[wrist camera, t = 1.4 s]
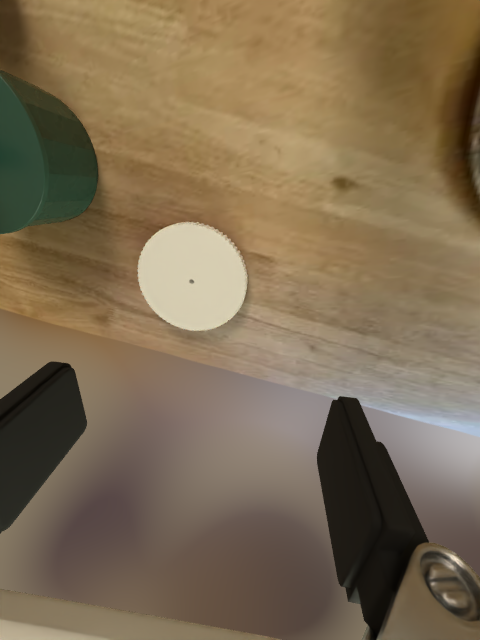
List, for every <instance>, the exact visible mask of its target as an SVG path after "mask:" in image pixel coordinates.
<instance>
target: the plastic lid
mask: <svg viewBox="0 0 480 640" xmlns="http://www.w3.org/2000/svg"><path fill="white" fill-rule="evenodd" d="M234 244H235V243H234V242H231V239H230V238H229V239H228V238H227V235H223V232H219V230H218V229H216V230H215V229H214V227H209V225H204V223H201V224H199V222H196V223H194V222H190V223H189V222H185V223H184V222H181V223H176V224H173V225H170V226H168V227H165V228H163V229H161V230H159V232H156V233H155V235H153V236H152V237H151V239H149V240H148V242H147V243H146V244H145V245H146V246H145V247H143V251H141V254H142V255H140V256H139V258H140V260H138V262H139V265H138V268H139V269H138V270H137V272H138V273H139V274H137V276H138V277H139V279H138V281H139V282H140V284H139V286H141V288H140V290H141V291H142V292H143V293H142V295H144V296H145V297H144V299H146V300H147V301H146V302H147V303H149V306H150V307H152V310H153V311H155V313H156V314H158V315H159V317H162V318H163V320H166V322H167V323H168V322H169V323H170V324H171V325H175V327H177V326H178V327H179V328H183V329H184V330H185V329H187V330H189V331H190V330H192V331H194V330H196V331H199V330H201V331H203V330H205V331H207V330H208V329H210V330H211V329H212V328H214V329H215V328H216V327H217V326H218V327H220V325H224V323H227V322H228V320H231V317H234V314H236V313H237V311H239V309H240V307H241V306H242V303H243V301H244V298H245V295H246V291H247V285H248V284H247V282H248V279H247V277H248V274H247V269H246V265H245V264H244V262H245V261H244V260H243V259H242V258H243V256H242V255H240V253H241V252H240V251H238V250H237V249H238V247H237V246H236V247H235V245H234Z"/></svg>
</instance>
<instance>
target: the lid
mask: <svg viewBox="0 0 480 640" xmlns="http://www.w3.org/2000/svg"><path fill="white" fill-rule="evenodd" d="M48 187H49V166H48V159H47V154H46V150H45V146H44V142H43V139H42V137H41V134H40V131H39V128H38V126H37V124H36V122H35V120H34V118H33V116H32V114H31V112H30V110H29V109H28V107H27V105H26V103H25V102H24V101H23V99H22V98H21V96H20V95H19V93H18V92H17V91H16V89H15V88H14V87H13V86H12V85H11V83H10V82H9V81H8V80H7V79H6V78H5V77H4V76H3V75H2V74H1V73H0V234H5V233H12V232H15V231H19V230H21V229H23V228H25V227H27V226H28V225H29V224H31V223H32V222H33V221H34V220H35V219H36V218H37V216H38V215H39V213H40V212H41V210H42V208H43V206H44V204H45V201H46V197H47V193H48Z"/></svg>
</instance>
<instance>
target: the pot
mask: <svg viewBox="0 0 480 640" xmlns="http://www.w3.org/2000/svg"><path fill="white" fill-rule="evenodd" d="M0 73H1V74H2V75H3V76H4V77H5V78H6V79H7V80H8V81H9V82H10V83H11V85H12V86H13V87H14V88H15V89H16V91H17V92H18V93H19V95H20V96H21V98H22V99H23V101H24V102H25V103H26V105H27V107H28V109H29V110H30V112H31V114H32V116H33V118H34V120H35V122H36V124H37V126H38V128H39V131H40V134H41V137H42V139H43V142H44V146H45V150H46V154H47V159H48V166H49V187H48V193H47V197H46V201H45V204H44V206H43V208H42V210H41V212H40V213H39V215H38V216H37V218H36V219H35V220H34V221H33V222H32V223H31V224H29V225H28V226H34V225H42V224H49V223H56V222H63V221H65V220H68V219H72V218H74V217H76V216H78V215H80V214H81V213H82V212H84V211H85V210H86V208H87V207H88V206H89V205H90V203H91V201H92V199H93V197H94V195H95V191H96V188H97V182H98V168H97V161H96V155H95V152H94V149H93V146H92V143H91V141H90V138H89V136H88V134H87V132H86V130H85V129H84V127H83V125H82V124H81V122H80V121H79V119H78V118H77V117H76V116H75V114H74V113H73V112H72V111H71V110H70V109H69V108H68V107H67V106H66V105H65V104H64V103H63V102H61V100H59V99H58V98H56V97H54V96H53V95H51V94H49V93H47V92H45V91H44V90H42V89H40V88H38V87H37V86H35V85H32V84H30V83H28V82H26V81H24V80H22V79H19V78H17V77H15V76H13V75H11V74H9V73H6V72H4V71H2V70H0Z"/></svg>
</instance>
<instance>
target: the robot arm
mask: <svg viewBox="0 0 480 640" xmlns="http://www.w3.org/2000/svg"><path fill="white" fill-rule="evenodd" d="M86 426H87V420H86V416H85V411H84V407H83V403H82V399H81V395H80V391H79V387H78V382H77V378H76V374H75V371H74V369H73V368H71V366H70V364H68V363H61V362H49V363H47V364H46V365H45V366H44V367H42V368H41V369H39V370H38V371H37V372H36V373H35V374H33V375H32V376H30V377H29V378H28V379H26V380H25V381H24V382H23V383H21V384H20V385H19V386H17V387H16V388H15V389H13V390H12V391H11V392H10V393H8V394H7V395H6V396H4V397H3V398H2V399H0V533H1V532H2V531H4V530H6V529H8V528H9V527H10V526H11V524H12V523H13V522H14V520H16V518H17V517H18V516H19V514H20V513H21V512H22V510H23V509H24V508H25V507H26V505H27V504H28V503H29V502H30V500H31V499H32V498H33V496H34V495H35V494H36V493H37V491H38V490H39V489H40V488H41V486H42V485H43V484H44V482H45V481H46V480H47V479H48V477H49V476H50V475H51V473H52V472H53V471H54V470H55V468H56V467H57V466H58V464H59V463H60V462H61V461H62V459H63V458H64V457H65V455H66V454H67V453H68V452H69V450H70V449H71V448H72V446H73V445H74V444H75V442H76V441H77V440H78V439H79V437H80V436H81V435H82V434H83V432H84V431H85V429H86ZM317 464H318V470H319V476H320V482H321V487H322V493H323V498H324V504H325V510H326V515H327V521H328V527H329V532H330V538H331V544H332V549H333V555H334V560H335V566H336V572H337V577H338V581H339V584H340V586H342V587H345V588H346V592H347V598H348V602H352V603H358V604H361V608H362V613H363V617H364V621H365V622H366V623H367V624H368V626H367V628H366V630H365V633H364V635H363V638H362V640H480V577H479V576H478V575H477V574H476V573H475V572H474V571H473V569H472V568H471V567H470V566H469V565H468V564H467V563H466V562H465V561H464V560H463V559H462V558H461V557H459V556H458V555H457V554H456V553H454V552H452V551H451V550H449V549H447V548H446V547H444V546H441V545H438V544H435V543H429V541H428V539H427V537H426V534H425V532H424V530H423V528H422V526H421V523H420V522H419V519H418V517H417V515H416V513H415V510H414V508H413V506H412V504H411V502H410V499H409V497H408V495H407V493H406V491H405V489H404V486H403V484H402V482H401V480H400V478H399V475H398V473H397V471H396V469H395V467H394V465H393V462H392V460H391V458H390V456H389V454H388V452H387V449H386V448H385V446H384V445H383V444H382V443H381V442H376V440H375V437H374V435H373V433H372V430H371V428H370V426H369V424H368V421H367V419H366V417H365V414H364V412H363V410H362V408H361V405H360V403H359V401H358V399H357V398H350V397H341V396H340V397H339V398H338V400H333V401H332V404H331V407H330V411H329V414H328V418H327V421H326V425H325V428H324V432H323V435H322V439H321V442H320V446H319V449H318V453H317ZM0 640H281V639H276V638H271V637H266V636H261V635H256V634H251V633H245V632H240V631H234V630H229V629H223V628H218V627H212V626H207V625H202V624H196V623H191V622H185V621H180V620H174V619H168V618H163V617H158V616H152V615H147V614H141V613H135V612H130V611H124V610H118V609H113V608H107V607H101V606H95V605H89V604H84V603H79V602H73V601H67V600H61V599H56V598H50V597H45V596H39V595H33V594H27V593H21V592H16V591H10V590H4V589H0Z"/></svg>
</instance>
